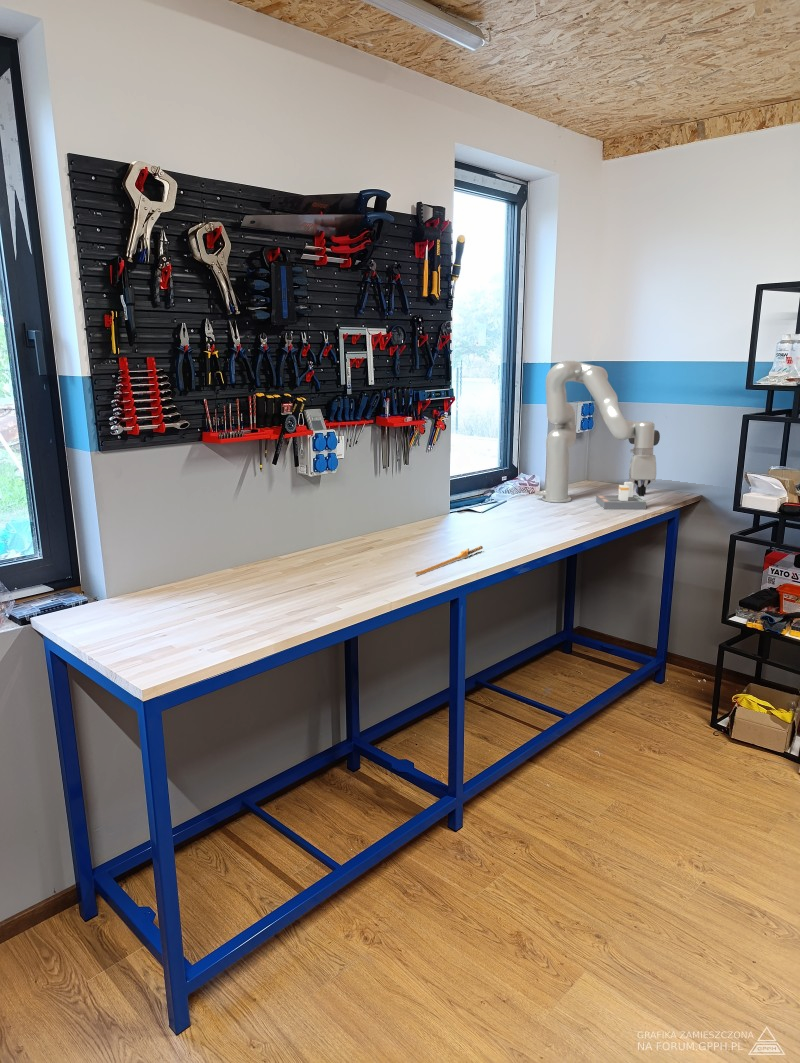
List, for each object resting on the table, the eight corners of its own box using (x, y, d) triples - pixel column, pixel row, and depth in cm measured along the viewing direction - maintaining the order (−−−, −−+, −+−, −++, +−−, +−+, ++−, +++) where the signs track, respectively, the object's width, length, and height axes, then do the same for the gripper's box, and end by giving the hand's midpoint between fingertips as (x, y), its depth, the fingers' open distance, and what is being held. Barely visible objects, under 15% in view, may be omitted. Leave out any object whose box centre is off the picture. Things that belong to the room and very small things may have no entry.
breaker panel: (604, 509, 298) (605, 487, 296) (596, 501, 314) (597, 481, 311) (645, 509, 297) (647, 487, 295) (635, 502, 312) (637, 481, 310)
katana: (413, 580, 209) (413, 571, 208) (479, 550, 235) (479, 542, 234) (417, 581, 208) (416, 572, 207) (482, 551, 234) (482, 543, 233)
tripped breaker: (620, 500, 299) (621, 486, 297) (618, 499, 303) (618, 484, 301) (627, 500, 299) (628, 486, 297) (625, 499, 302) (626, 484, 301)
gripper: (627, 453, 292) (625, 497, 296) (664, 452, 291) (662, 497, 295) (622, 451, 300) (620, 494, 304) (659, 450, 299) (657, 494, 303)
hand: (641, 495), depth 300 cm, fingers closed
